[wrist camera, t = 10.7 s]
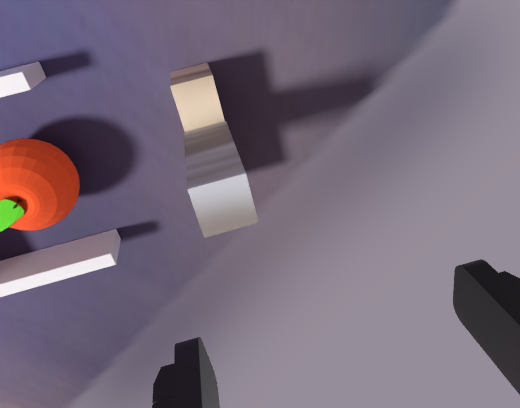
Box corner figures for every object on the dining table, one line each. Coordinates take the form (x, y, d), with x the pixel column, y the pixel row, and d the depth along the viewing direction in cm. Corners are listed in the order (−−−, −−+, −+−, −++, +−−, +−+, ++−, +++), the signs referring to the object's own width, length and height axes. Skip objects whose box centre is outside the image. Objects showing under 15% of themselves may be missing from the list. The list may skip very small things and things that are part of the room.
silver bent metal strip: (169, 72, 33) (167, 129, 20) (208, 62, 33) (230, 112, 21) (204, 182, 38) (219, 282, 25) (238, 173, 38) (270, 268, 26)
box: (-129, 103, 30) (-168, 119, 27) (38, 61, 31) (22, 71, 27) (-10, 275, 38) (-28, 304, 35) (120, 239, 39) (115, 264, 36)
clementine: (48, 226, 37) (22, 275, 31) (-30, 178, 34) (-75, 223, 28) (104, 163, 35) (89, 202, 29) (28, 108, 32) (-7, 138, 26)
